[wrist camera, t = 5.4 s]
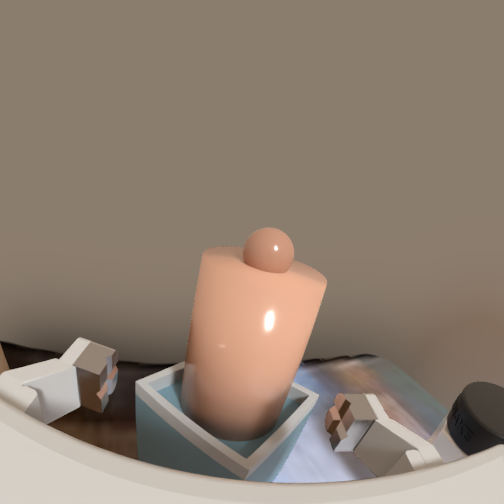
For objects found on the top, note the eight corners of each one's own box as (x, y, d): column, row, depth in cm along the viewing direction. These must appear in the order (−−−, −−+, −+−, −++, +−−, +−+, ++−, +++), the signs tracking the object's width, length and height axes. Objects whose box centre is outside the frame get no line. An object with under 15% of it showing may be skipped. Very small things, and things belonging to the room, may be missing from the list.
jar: (408, 459, 21) (469, 368, 19) (463, 488, 16) (534, 399, 13) (368, 511, 15) (453, 415, 13) (435, 547, 10) (538, 457, 7)
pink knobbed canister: (240, 458, 12) (306, 253, 10) (159, 397, 15) (182, 210, 13) (294, 406, 17) (352, 244, 15) (223, 364, 20) (257, 214, 18)
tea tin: (217, 533, 13) (249, 470, 10) (138, 469, 17) (135, 381, 15) (277, 475, 19) (319, 395, 17) (205, 428, 23) (223, 343, 21)
